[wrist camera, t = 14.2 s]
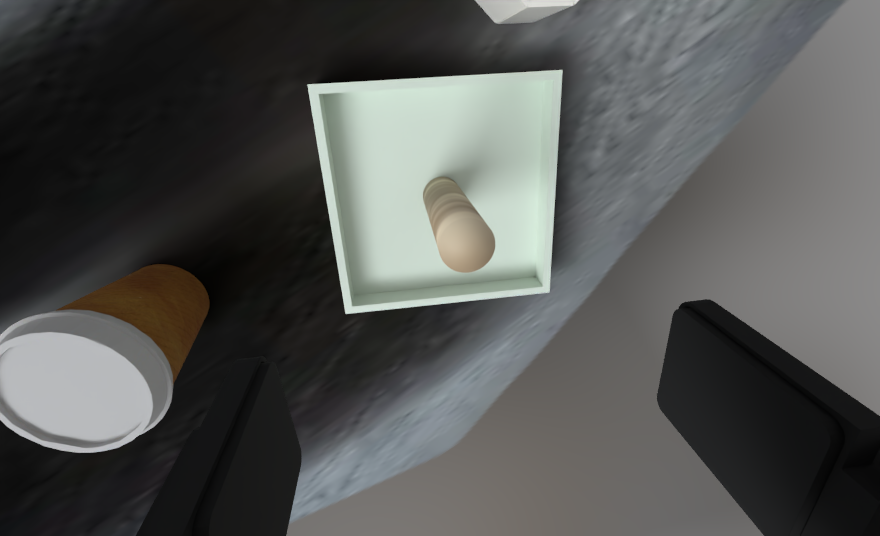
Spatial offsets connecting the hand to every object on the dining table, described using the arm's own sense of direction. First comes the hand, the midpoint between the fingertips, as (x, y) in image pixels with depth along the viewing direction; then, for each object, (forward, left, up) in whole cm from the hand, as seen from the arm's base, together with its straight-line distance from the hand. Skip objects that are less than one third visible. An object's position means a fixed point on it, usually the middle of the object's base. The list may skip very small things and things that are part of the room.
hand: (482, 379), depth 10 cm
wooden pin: (+2, +2, -24) cm, 25 cm away
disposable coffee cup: (+9, -21, -26) cm, 34 cm away
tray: (+2, +2, -26) cm, 26 cm away
